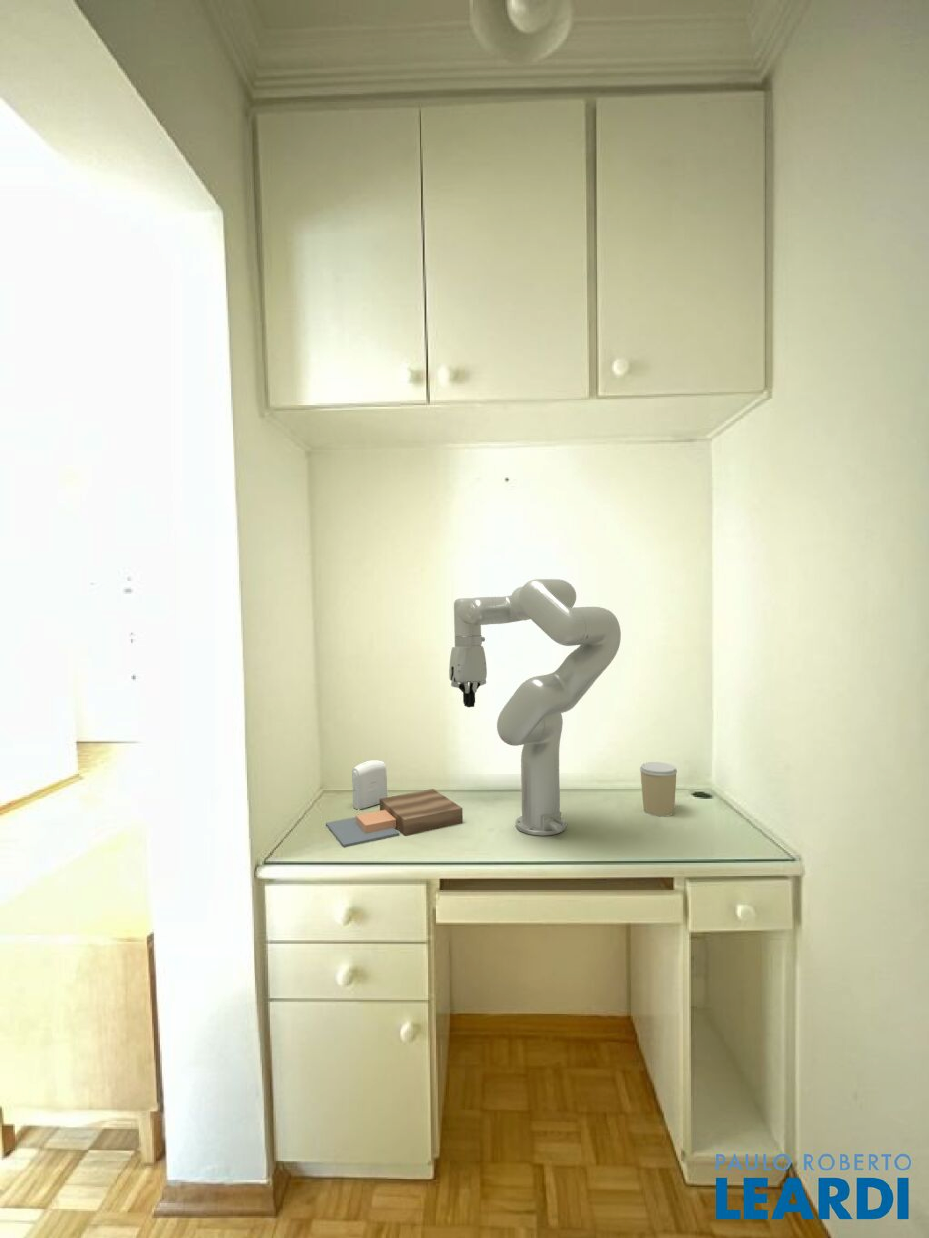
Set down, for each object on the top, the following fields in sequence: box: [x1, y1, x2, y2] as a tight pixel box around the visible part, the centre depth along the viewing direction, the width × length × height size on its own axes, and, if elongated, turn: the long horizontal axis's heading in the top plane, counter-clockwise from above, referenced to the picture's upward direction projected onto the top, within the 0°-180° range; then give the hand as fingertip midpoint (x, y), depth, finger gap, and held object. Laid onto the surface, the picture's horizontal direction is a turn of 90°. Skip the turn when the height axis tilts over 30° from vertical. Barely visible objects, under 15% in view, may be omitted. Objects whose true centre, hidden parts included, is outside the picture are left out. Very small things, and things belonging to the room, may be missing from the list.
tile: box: [355, 810, 396, 833], centre depth 154 cm, size 8×8×2 cm
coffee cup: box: [639, 761, 678, 817], centre depth 161 cm, size 9×9×12 cm
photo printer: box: [351, 759, 388, 810], centre depth 171 cm, size 10×4×12 cm, turn 133°
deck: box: [379, 788, 464, 837], centre depth 159 cm, size 18×16×4 cm
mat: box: [325, 816, 400, 848], centre depth 152 cm, size 16×14×1 cm
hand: (469, 706), depth 171 cm, fingers closed
